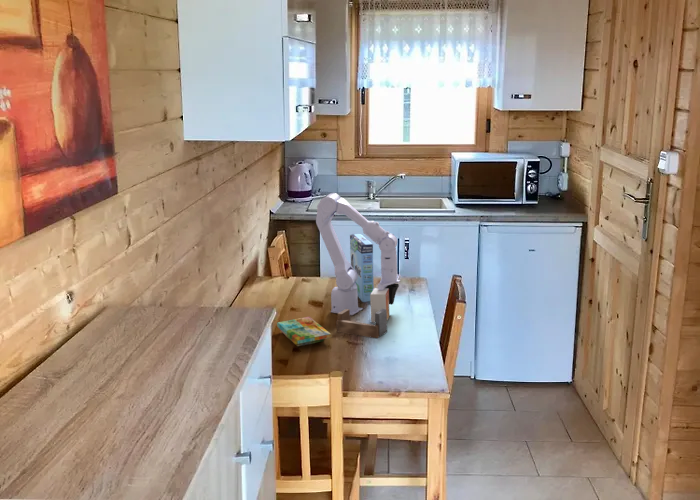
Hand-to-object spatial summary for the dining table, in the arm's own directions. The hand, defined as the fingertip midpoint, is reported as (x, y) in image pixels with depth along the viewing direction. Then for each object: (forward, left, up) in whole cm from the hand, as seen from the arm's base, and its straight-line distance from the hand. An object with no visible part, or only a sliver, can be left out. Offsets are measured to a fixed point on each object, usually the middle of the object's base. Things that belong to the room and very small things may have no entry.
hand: (390, 303), depth 257 cm
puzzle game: (-15, -35, -4) cm, 38 cm away
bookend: (+7, -21, -3) cm, 22 cm away
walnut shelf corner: (0, -21, -3) cm, 21 cm away
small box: (0, -8, -4) cm, 8 cm away
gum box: (-20, +15, -4) cm, 25 cm away
